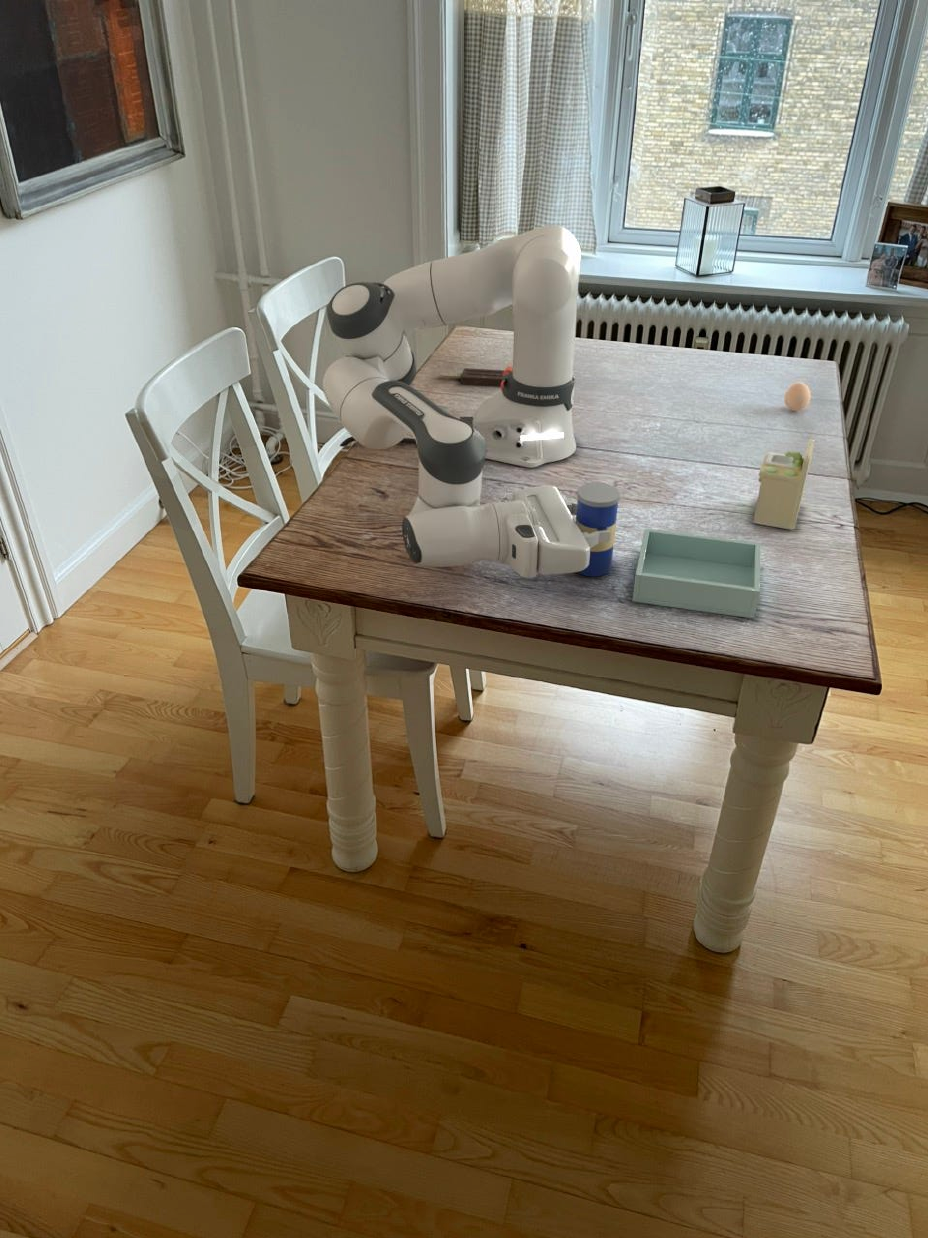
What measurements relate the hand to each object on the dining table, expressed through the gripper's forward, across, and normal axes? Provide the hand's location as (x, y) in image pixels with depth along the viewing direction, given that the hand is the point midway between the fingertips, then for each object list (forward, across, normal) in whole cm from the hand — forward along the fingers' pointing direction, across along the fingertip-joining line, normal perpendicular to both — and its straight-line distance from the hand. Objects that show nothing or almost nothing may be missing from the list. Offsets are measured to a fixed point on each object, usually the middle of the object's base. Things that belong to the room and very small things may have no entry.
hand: (601, 522), depth 146 cm
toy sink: (+35, -10, -8) cm, 37 cm away
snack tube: (-1, 0, -8) cm, 8 cm away
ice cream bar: (-4, -78, -8) cm, 78 cm away
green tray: (+13, +8, -8) cm, 17 cm away
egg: (+58, -50, -8) cm, 77 cm away
